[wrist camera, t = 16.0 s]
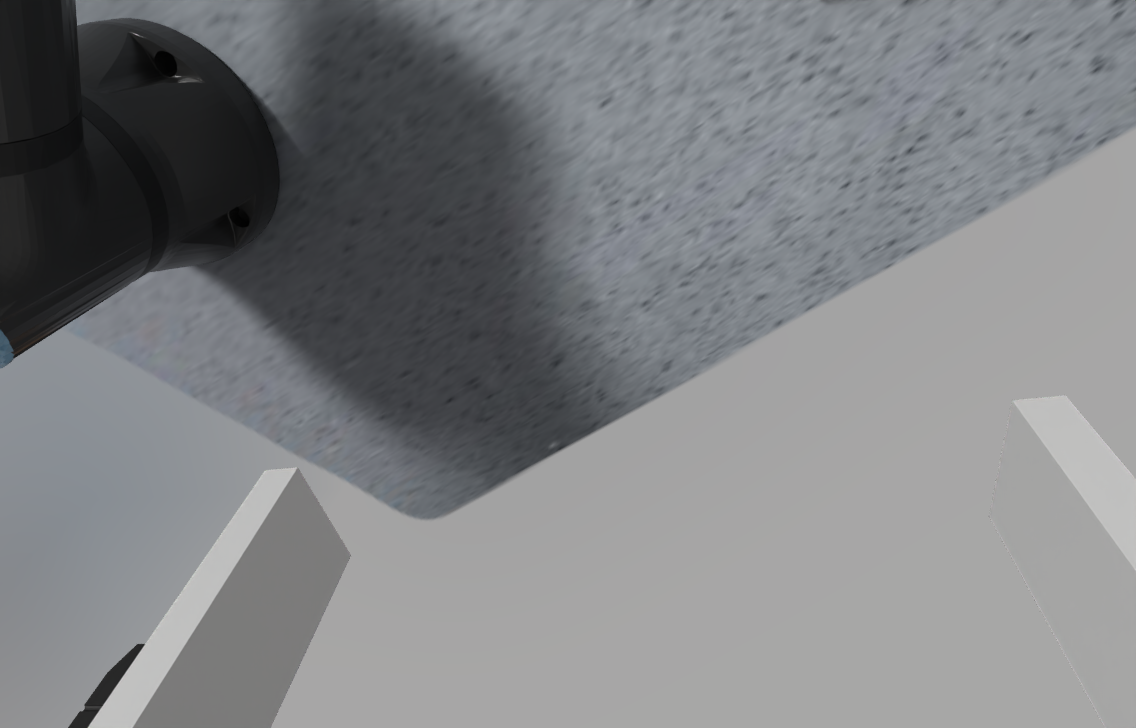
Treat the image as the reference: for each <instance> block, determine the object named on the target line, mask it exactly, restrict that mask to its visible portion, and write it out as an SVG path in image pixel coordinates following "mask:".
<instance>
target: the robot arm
mask: <svg viewBox="0 0 1136 728" xmlns="http://www.w3.org/2000/svg"><path fill="white" fill-rule="evenodd" d="M278 189H279V171H278V163H277V157H276V152H275V149H274V145H273V142H272V139H271V136H270V133H269V130H268V128H267V126H266V123H265V121H264V119H263V117H262V115H261V113H260V111H259V109H258V108H257V106H256V104H255V103H254V101H253V100H252V98H251V97H250V95H249V94H248V92H247V91H246V89H245V88H244V87H243V85H242V84H241V83H240V82H239V80H238V79H237V78H236V77H235V76H234V75H233V73H232V72H231V71H230V70H229V69H228V68H227V67H226V66H225V65H224V64H223V63H222V62H221V61H220V60H219V59H217V58H216V57H215V56H214V55H213V54H212V53H210V52H209V51H208V50H206V49H205V48H204V47H202V46H201V45H200V44H198V43H197V42H195V41H194V40H192V39H190V38H189V37H187V36H185V35H183V34H182V33H180V32H178V31H176V30H173V29H171V28H169V27H166V26H163V25H161V24H158V23H154V22H150V21H146V20H140V19H131V18H121V19H111V20H104V21H97V22H90V23H86V24H81V25H78V26H77V19H76V3H75V0H0V368H3V367H5V366H6V365H7V364H9V363H10V362H12V360H13V359H14V358H15V357H17V356H18V355H20V354H22V353H23V352H25V351H26V350H28V349H29V348H31V347H32V346H34V345H35V344H37V343H39V342H40V341H42V340H43V339H45V338H46V337H48V336H50V335H51V334H53V333H54V332H56V331H57V330H59V329H60V328H62V327H64V326H65V325H67V324H68V323H70V322H71V321H73V320H75V319H76V318H78V317H79V316H81V315H82V314H84V313H85V312H87V311H89V310H90V309H92V308H93V307H95V306H96V305H98V304H99V303H101V302H103V301H104V300H106V299H107V298H109V297H110V296H112V295H113V294H115V293H117V292H118V291H120V290H121V289H123V288H124V287H126V286H128V285H129V284H130V283H132V282H133V281H135V280H137V279H138V278H140V277H142V276H143V275H145V274H147V273H149V272H155V271H161V270H168V269H174V268H180V267H187V266H193V265H199V264H205V263H210V262H214V261H217V260H220V259H222V258H225V257H227V256H229V255H231V254H233V253H234V252H236V251H237V250H239V249H240V248H242V247H243V246H245V245H246V244H248V243H249V242H250V241H252V240H253V239H254V238H256V237H257V236H258V235H259V234H260V233H261V232H262V231H263V229H264V228H265V227H266V225H267V224H268V222H269V220H270V218H271V216H272V214H273V212H274V209H275V206H276V202H277V197H278ZM989 518H990V520H991V522H992V523H993V525H994V527H995V529H996V531H997V532H998V534H999V536H1000V538H1001V540H1002V542H1003V543H1004V545H1005V547H1006V549H1007V551H1008V552H1009V554H1010V556H1011V558H1012V560H1013V562H1014V563H1015V565H1016V567H1017V569H1018V571H1019V572H1020V574H1021V576H1022V578H1023V580H1024V582H1025V583H1026V585H1027V587H1028V589H1029V591H1030V592H1031V594H1032V596H1033V598H1034V600H1035V602H1036V603H1037V605H1038V607H1039V609H1040V611H1041V613H1042V614H1043V616H1044V618H1045V620H1046V621H1047V623H1048V625H1049V627H1050V629H1051V631H1052V633H1053V634H1054V636H1055V638H1056V640H1057V641H1058V643H1059V645H1060V647H1061V649H1062V651H1063V653H1064V654H1065V656H1066V658H1067V660H1068V662H1069V663H1070V665H1071V667H1072V669H1073V671H1074V673H1075V674H1076V676H1077V678H1078V680H1079V682H1080V683H1081V685H1082V687H1083V689H1084V691H1085V692H1086V695H1087V696H1088V698H1089V700H1090V702H1091V704H1092V705H1093V707H1094V709H1095V711H1096V713H1097V715H1098V716H1099V718H1100V720H1101V722H1102V724H1103V725H1104V727H1105V728H1136V479H1135V478H1134V476H1133V475H1132V474H1131V473H1130V472H1129V470H1128V469H1127V468H1126V467H1125V466H1124V464H1123V463H1122V462H1121V461H1120V460H1119V459H1118V458H1117V456H1116V455H1115V454H1114V453H1113V452H1112V450H1111V449H1110V448H1109V447H1108V446H1107V444H1106V443H1105V442H1104V441H1103V440H1102V438H1101V437H1100V436H1099V435H1098V434H1097V432H1096V431H1095V430H1094V429H1093V428H1092V426H1091V425H1090V424H1089V423H1088V422H1087V421H1086V419H1085V418H1084V417H1083V416H1082V415H1081V413H1080V412H1079V411H1078V410H1077V409H1076V408H1075V406H1074V405H1073V404H1072V403H1071V402H1070V400H1069V399H1068V398H1067V397H1066V396H1054V397H1043V398H1033V399H1022V400H1012V403H1011V408H1010V413H1009V418H1008V423H1007V428H1006V433H1005V438H1004V443H1003V448H1002V453H1001V458H1000V464H999V469H998V473H997V479H996V483H995V488H994V493H993V498H992V504H991V509H990V514H989ZM350 556H351V555H350V553H349V551H348V550H347V548H346V547H345V545H344V543H343V541H342V540H341V538H340V537H339V535H338V533H337V532H336V530H335V528H334V527H333V525H332V523H331V522H330V520H329V518H328V517H327V515H326V513H325V512H324V510H323V508H322V507H321V505H320V504H319V502H318V500H317V498H316V497H315V496H314V494H313V492H312V490H311V489H310V487H309V485H308V484H307V482H306V481H305V479H304V477H303V476H302V474H301V472H300V470H299V469H298V468H286V469H276V470H265V471H264V473H263V474H262V476H261V477H260V479H259V480H258V482H257V483H256V484H255V486H254V487H253V489H252V490H251V492H250V493H249V494H248V496H247V497H246V499H245V500H244V502H243V503H242V505H241V506H240V508H239V509H238V511H237V512H236V513H235V515H234V516H233V518H232V519H231V521H230V522H229V524H228V525H227V526H226V528H225V529H224V531H223V532H222V534H221V535H220V537H219V538H218V540H217V541H216V542H215V544H214V545H213V547H212V548H211V550H210V551H209V553H208V554H207V555H206V557H205V558H204V560H203V561H202V563H201V564H200V566H199V567H198V569H197V570H196V572H195V573H194V574H193V576H192V577H191V579H190V580H189V582H188V583H187V584H186V586H185V588H184V589H183V590H182V592H181V593H180V595H179V596H178V597H177V599H176V601H175V602H174V603H173V605H172V606H171V608H170V609H169V611H168V612H167V613H166V615H165V616H164V618H163V619H162V621H161V622H160V624H159V625H158V626H157V628H156V629H155V631H154V632H153V634H152V635H151V637H150V638H149V640H148V641H147V642H146V644H137V645H136V646H135V647H134V648H133V649H132V650H131V651H130V652H129V653H128V654H127V655H125V657H123V658H122V660H120V661H119V662H118V663H117V664H116V665H115V666H114V667H113V668H112V669H111V670H110V671H109V672H108V673H107V674H106V675H105V677H104V678H103V680H102V681H101V683H100V684H99V685H98V687H97V688H96V689H95V691H94V692H93V694H92V695H91V696H90V698H89V699H88V701H87V702H86V703H85V709H84V710H83V711H82V712H81V711H80V712H79V713H78V715H77V716H76V718H75V719H74V720H73V722H72V723H71V725H70V726H69V727H68V728H271V725H272V723H273V721H274V719H275V717H276V715H277V713H278V710H279V708H280V706H281V704H282V702H283V700H284V698H285V695H286V693H287V691H288V689H289V687H290V685H291V683H292V681H293V678H294V676H295V674H296V672H297V670H298V668H299V666H300V663H301V661H302V659H303V657H304V655H305V653H306V650H307V648H308V646H309V644H310V642H311V640H312V638H313V636H314V633H315V631H316V629H317V627H318V625H319V622H320V621H321V618H322V616H323V614H324V612H325V610H326V607H327V606H328V603H329V601H330V599H331V597H332V595H333V593H334V591H335V588H336V586H337V584H338V582H339V580H340V578H341V576H342V573H343V571H344V569H345V567H346V565H347V563H348V561H349V559H350Z"/></svg>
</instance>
